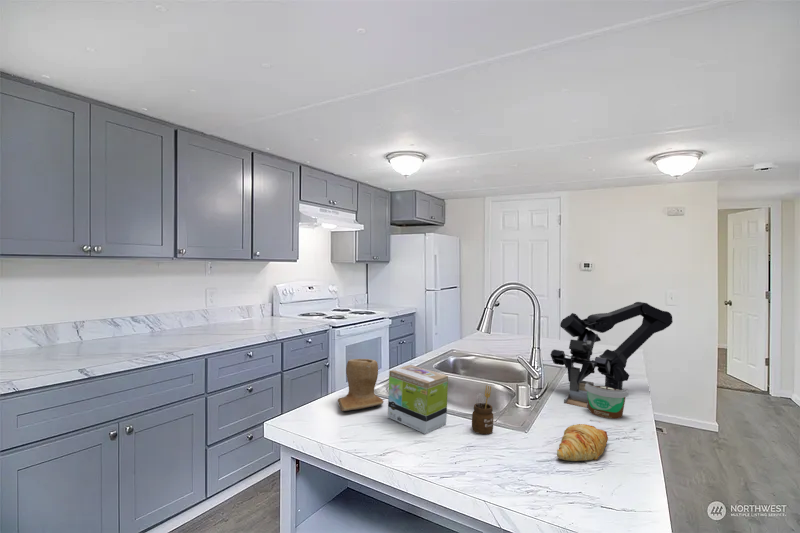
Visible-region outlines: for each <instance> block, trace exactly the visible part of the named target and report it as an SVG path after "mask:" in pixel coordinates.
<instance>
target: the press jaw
mask: <svg viewBox="0 0 800 533" xmlns="http://www.w3.org/2000/svg"><path fill="white" fill-rule="evenodd" d="M580 371H581V367H580V368H579V367H575V366H574V367H572V368H571V369H570V382H569V392H570V399H572V400H577V401H582V402H587V403H588V396H587V391H582V390H579V384H578V383H577V379H578V376H579V374H580Z"/></svg>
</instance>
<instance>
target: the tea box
mask: <svg viewBox="0 0 800 533" xmlns="http://www.w3.org/2000/svg"><path fill="white" fill-rule="evenodd" d="M388 374H389V375H388V397H387V398H388V400H387V401H388V402H387V406H388V407H387V418H388V419H390V420H393V421H395V422H397V423H399V424H402V425H405V426H407V427H409V428H411V429H413V430H415V431H418V432H420V433H422V434H424V435H427V434H429V433H432V432H433V431H435V430H437V429H439V428H442V427H443V426H445V425H447V418H448V417H447V416H448V415H447V413H448V390H449V387H448V386H449V385H448V384H449V375H446V374H442V373H440V372H436V371H433V370H430V369H426V368H422V367H419V366H415V365H413V364H409V365H405V366H402V367H398V368H396V369H395V368H394V369H392V370H389V371H388Z"/></svg>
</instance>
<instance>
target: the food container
mask: <svg viewBox="0 0 800 533" xmlns="http://www.w3.org/2000/svg"><path fill="white" fill-rule="evenodd" d="M585 389H586V390H587V396H588V408H587V410H588V411H589V413H591V414H592V415H595V416H597V417H600V418H603V419H604V418H605V419H611V420H613V419H616V420H617V419H620V418H622V417H623V415H624V414H623V413H624V408H625V403H626V398H627V397H629V390H628V387H626V388H625V389H622V390H619V389H614V388H611V387H607V386H605V385H599V386H598V385H589V384H588V383H587V384H586V385H585Z"/></svg>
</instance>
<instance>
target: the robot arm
mask: <svg viewBox="0 0 800 533" xmlns="http://www.w3.org/2000/svg"><path fill="white" fill-rule="evenodd" d="M639 316H640V317H643V318H642V321H641V324H640V326H638V327H637V329H636V330H634V332H632V333H631V334H630V335H629V336H628V337H627V338H626V339H625V340H624V341H622V343H621V344H620V345H619V346H618V347H616V349H614V350H611V349H610V350H609V349H606V350H604V352H603V353H602V354H601V355H599V356H596V357H595V358H594V360H593V359H591V356H593V349H594V345H595V343H597V342H601V341H602V340H601V338H600V336H599V335H598V333H602V334H604V333H606V332H608V331H610V330H612V329H613V328H614V327H615V325H617V324H619V323H622V322H625V321H628V320H631V319H634V318H635V317H639ZM672 324H673V315H672V314H671V312H670V311H666V310H662V309H660V308H657V307H655V306H652V305H650V304H649V303H647V302H641V301H635V302H633V303H632V304H630V305H627V306H624V307H621V308H617V309H615V310H613V311H610V312H604V313H595V314H593V313H592V314H590V315H588V316H587V318H583V319H581V318H580V317H579V316H578V314H576V313H573V312H572V313H570V315H566V317H565V318H562V320H561V322H560V328H561V329H562V330H564V331H565V332H567V334H568V335H570V336H571V337H572V338H576V337H577V338H576V339H570V340H569V345H568V346H569V347H568V349H569V350H570V354H568V353H565V351H564V350H561V349H552V350H551V352H550V357H551V360H552V362H553V363H554V364H555V365H557V366H558V365H559V366H564V367H565V368H566V369H567V380H568V382H569V383H570V369H571V368H572V367H575V365H574V364H578V365H582V366H581V368H580V374H579V376H578V379H577V383H578V384H579V383H580V382H581V381H582V380H583V381H584V379H585V378H586V377H588V376H589V375H591V374H595V370H596V368H597V371H598V372H599V373H600V374H601V375H603V376H604V378H605V379H604V386H607V387H611V388H614V389H619V390H623V382H626V381H627V382H628V380H629V379H630V378H629V377H630V374H629V373H628V372H627V371H626V370H625V368H626V367H627V363H628V359H629V358H630V357H631V356H633V354H634V353H636V351H638V350H639V349H640V347H642V346H643V344H645V343H646V342H647V340H649V338H651V337H652V336H653V335H654V334H656V333H659V332H662V331H664V330H666V329H667V328H669V327H670V326H671V325H672ZM595 332H597V333H595Z"/></svg>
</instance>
